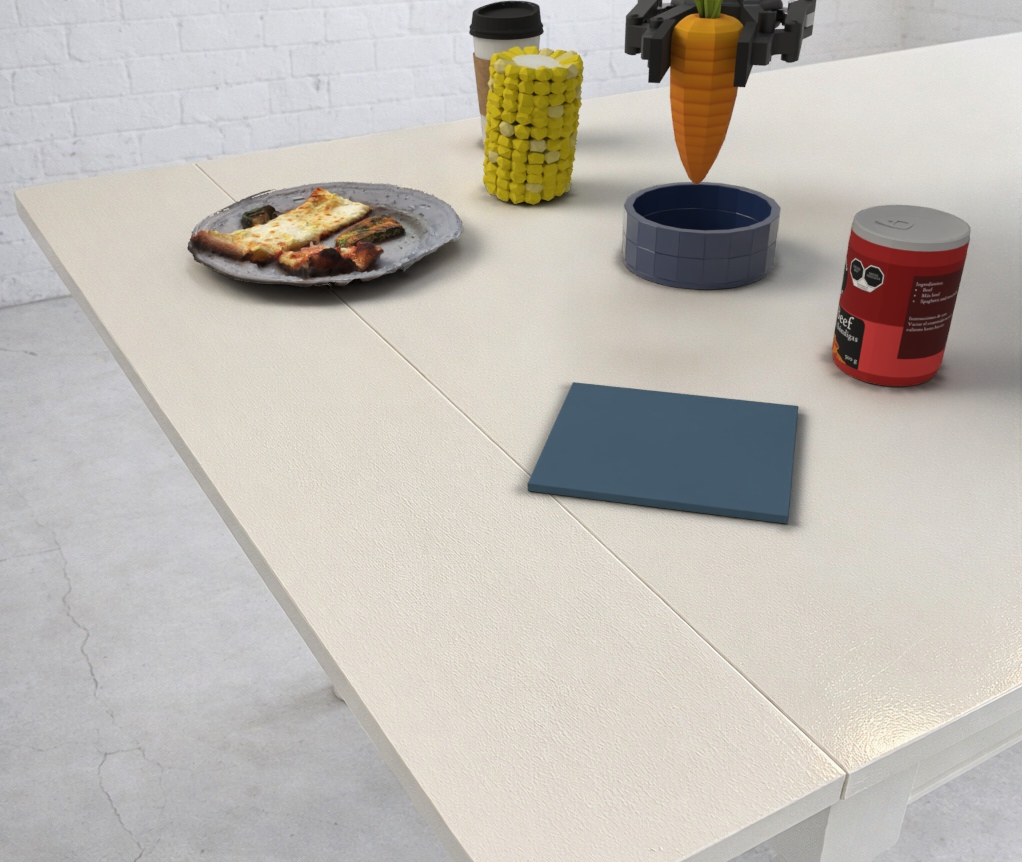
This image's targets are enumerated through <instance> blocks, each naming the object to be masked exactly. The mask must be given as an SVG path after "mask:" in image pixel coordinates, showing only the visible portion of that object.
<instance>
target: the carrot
mask: <svg viewBox="0 0 1022 862" xmlns="http://www.w3.org/2000/svg"><path fill="white" fill-rule="evenodd" d="M694 1H695V4H696V6H697V9H698V13H697V14H691V15H688V16H686V17H685V18H684V19H682V20H681V21H680V22H679V23H678V24H677V25H676V26H675V27H674V30H673V33H672V38H671V59H670V67H669V103H670V112H671V123H672V129H673V136H674V141H675V146H676V149H677V153H678V156H679V159H680V162H681V164H682V166H683V168H684V171H685V173H686V175H687V177H688V179H689V180H690V182H693V183H694V184H695V185H698V184H699V183H700V182H704V181H705V179H706V178H707V176H708V174H709V172H710V170H711V169H712V167H713V166H714V163H715V162H716V160H717V159H718V156H719V154H720V151H721V149H722V147H723V145H724V143H725V141H726V137H727V134H728V131H729V127H730V125H731V121H732V120H731V119H732V116H733V112H734V109H735V104H736V100H737V96H738V91H739V90H738V89H739V87H733V83H734V73H735V62H736V51H737V42H738V40H739V37H740V35H741V33H742V31H743V28H744V26H743V25H742V24H741V22H740V21H739V20H738V19H736V18H734V17H731V16H728V15H725V14H721V13H720V10H721V4H722V2H723V0H694Z"/></svg>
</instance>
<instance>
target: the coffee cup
mask: <svg viewBox="0 0 1022 862" xmlns="http://www.w3.org/2000/svg"><path fill="white" fill-rule="evenodd" d="M471 15H472V16H471V23H470V25H469V31H468V34H469V35H470V36H472V41H473V42H472V43H473V53H472V58H473V67H474V77H475V84H476V85H475V86H476V94H477V102H478V109H479V111H478V112H479V116H480V126H481V127H480V128H481V137H482V144H483V147H484V146H485V145H484V141H485V138H486V134H485V124H486V123H487V120H486V114H487V110H486V108H487V106H486V105H487V102H488V100H487V96H488V91H489V89H490V88H489V86H488V82H489V80H490V71H489V67H490V62H491V56H492V55H493V54H494V53H502V52H503V51H507V52H508V50H509V49H511V48H513V47H516V46H518V47H519V48H520V49H522V50H523V49H524V48H525V47H529V46H536V47H537V48H538V50H539V51H540V45H541V44H540V43H541V35H543V34H544V32H545V31H544V24H543V22H542V17H541V7H540V5H539V4H538V3H536V2H532V1H527V0H501V1H495V2H492V3H488V4H485V5H482V6H480V7H477V8H475V9H474V10H473V11H472V14H471Z"/></svg>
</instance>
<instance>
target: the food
mask: <svg viewBox="0 0 1022 862" xmlns="http://www.w3.org/2000/svg"><path fill="white" fill-rule="evenodd" d="M584 69H585V67H584V61H583V59H582V57H581V55H580V54H579V53H578V52H577V51H575V50H569V51H567V50H563V49H556V50H554V49H552V48H548V47H545V48H541V49H539V50H538V48H537V47H536V46H529V47H525V48H524V49H523V50H522V49H520V48H519V47H518V46H516V47H513V48H511V49H509V50H508V52H507V51H503V52H502V53H494V54H493V55H492V56H491V62H490V67H489V71H490V80H489V82H488V86H489V88H490V89H489V91H488V96H487V100H488V102H487V105H486V106H487V108H486V110H487V114H486V120H487V123H486V124H485V134H486V138H485V141H484V144H483V155H484V160H483V163H482V166H483V169H482V170H483V173H484V175H483V176H482V182H483V184H484V186H485V188H486V191H487V193H488V194H489V195H491V196H492V195H496V197H497V198H498V199H499V200H500V201H502V202H508V201H511V202H512V203H513V205H517V204H520V203H523V202H525V203H527V204H530V205H533V206H534V205H536V204H539V203H540V201H541V200H544V201H547V202H549V201H551V200H552V199H554V198H555V196H556V197H561V196H563V194H564V193H567V192H570V190H571V186H572V175H573V171H574V169H573V168H574V162H575V161H576V157H575V155H576V151H577V148H576V146H577V144H578V143H577V142H578V140H577V137H578V133H579V131H578V127H580V122H579V119H580V113H579V111H580V109H581V106H582V105H583V103H582V92H583V91H582V83H583V81H584V74H583V73H584ZM484 145H485V146H484Z"/></svg>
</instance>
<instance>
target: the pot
mask: <svg viewBox="0 0 1022 862" xmlns="http://www.w3.org/2000/svg"><path fill="white" fill-rule="evenodd" d="M781 210H782V208H781V206H780V205H779V204H778V203H777V201H776V200H775V199H774V198H772V197H770V196H769V195H767V194H765V193H763V192H762V191H758V190H755V189H751V188H748V187H745V186H741V185H735V184H728V183H723V182H712V181H711V182H710V181H702V182H700V183H699V184H698V185H695V184H694V183H693V182H692V181H677V182H669V183H663V184H656V185H652V186H649V187H646V188H642V189H639V190H637V191H636V192H634V193H633V194H631V195H629V196H627V198H626V200H625V202H624V203H623V211H622V212H623V216H622V220H623V221H622V238H621V241H622V242H621V254H622V256H621V257H622V263H623V265H624V266H625V268H626V270H627V269H628V271H630V272H631V273H632V274H634V275H635V276H637V277H640V278H641V279H644V280H646V281H650V282H652V283H655V284H659V285H663V286H667V287H671V288H678V289H679V288H680V289H686V290H687V289H689V290H722V289H732V288H738V287H741V286H747V285H750V284H754V283H756V282H758V281H760V280H762V279H764V278H765V277H767V276H768V275H769V274H770V273H771V272H772V270H773V269H774V265H775V258H776V252H777V243H778V235H779V226H780V219H781Z"/></svg>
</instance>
